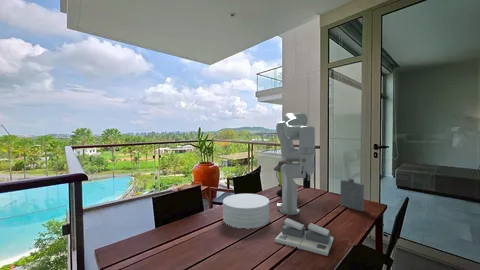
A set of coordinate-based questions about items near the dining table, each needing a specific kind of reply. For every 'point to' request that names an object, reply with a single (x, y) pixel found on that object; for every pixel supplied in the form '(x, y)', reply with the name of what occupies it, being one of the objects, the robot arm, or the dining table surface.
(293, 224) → the left switch
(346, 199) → the hip flask
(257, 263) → the dining table surface
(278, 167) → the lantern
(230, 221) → the plate stack
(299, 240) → the panel
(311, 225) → the right switch
